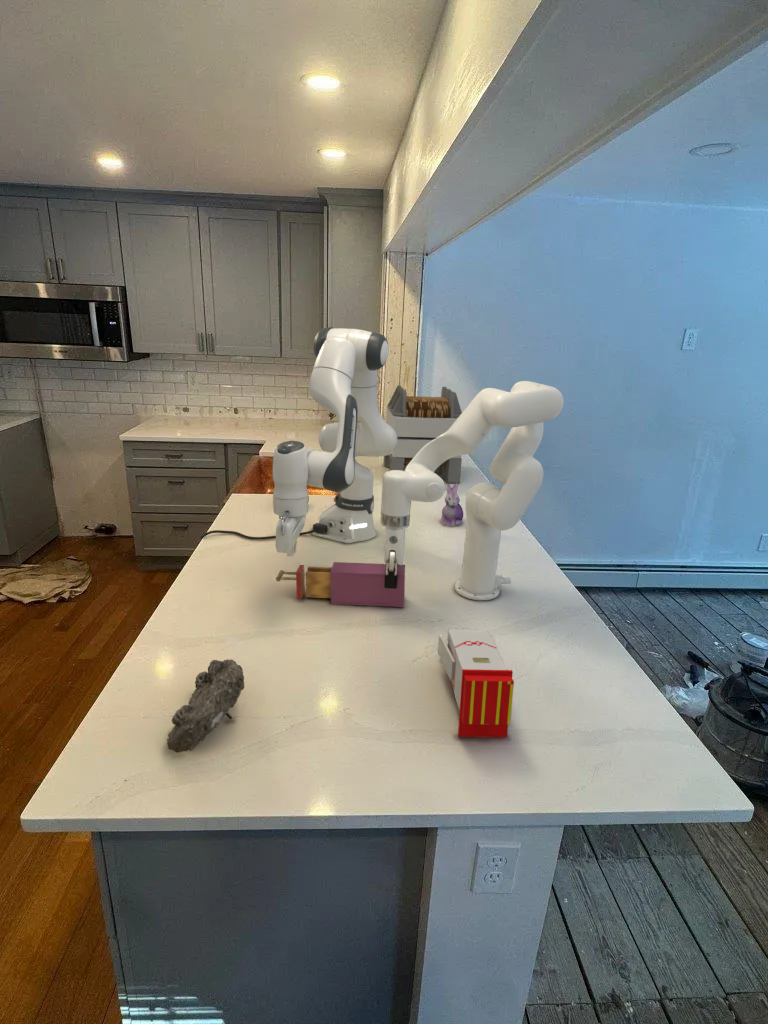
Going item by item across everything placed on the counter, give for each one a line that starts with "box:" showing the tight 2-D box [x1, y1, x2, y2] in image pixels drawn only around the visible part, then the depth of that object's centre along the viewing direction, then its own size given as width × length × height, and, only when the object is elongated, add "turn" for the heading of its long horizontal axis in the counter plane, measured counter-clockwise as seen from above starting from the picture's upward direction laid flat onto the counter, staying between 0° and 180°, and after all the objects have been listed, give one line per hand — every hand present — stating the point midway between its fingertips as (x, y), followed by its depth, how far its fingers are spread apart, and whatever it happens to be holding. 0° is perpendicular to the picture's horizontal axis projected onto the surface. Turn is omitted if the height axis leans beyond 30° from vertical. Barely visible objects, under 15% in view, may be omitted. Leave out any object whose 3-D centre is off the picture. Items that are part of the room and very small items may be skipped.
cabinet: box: [330, 561, 406, 608], centre depth 152 cm, size 19×6×9 cm, turn 86°
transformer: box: [383, 384, 463, 484], centre depth 268 cm, size 34×33×41 cm
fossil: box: [166, 658, 245, 754], centre depth 106 cm, size 22×10×15 cm
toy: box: [437, 628, 515, 738], centre depth 117 cm, size 12×13×30 cm
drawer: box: [275, 564, 332, 600], centre depth 152 cm, size 24×5×8 cm, turn 86°
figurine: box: [440, 483, 464, 527], centre depth 210 cm, size 9×10×15 cm
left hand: (291, 554), depth 150 cm, fingers closed
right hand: (391, 581), depth 151 cm, fingers closed on cabinet, 6 cm apart
